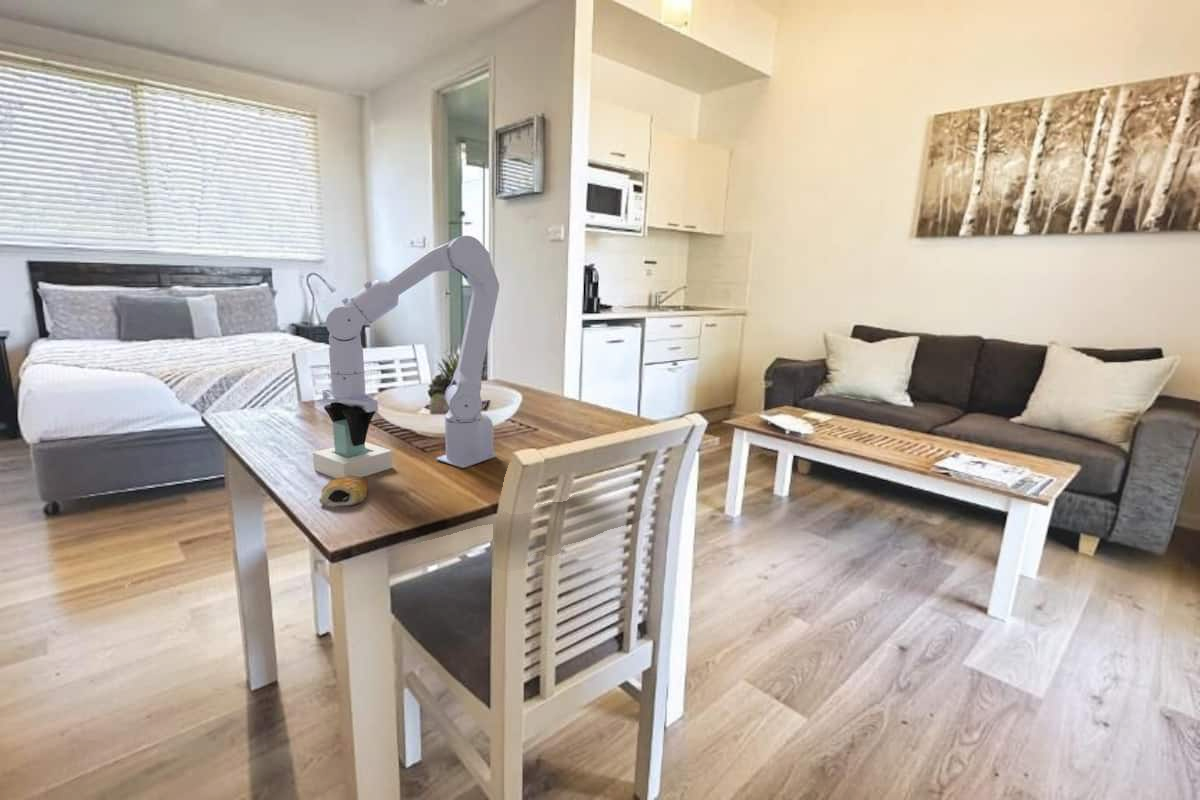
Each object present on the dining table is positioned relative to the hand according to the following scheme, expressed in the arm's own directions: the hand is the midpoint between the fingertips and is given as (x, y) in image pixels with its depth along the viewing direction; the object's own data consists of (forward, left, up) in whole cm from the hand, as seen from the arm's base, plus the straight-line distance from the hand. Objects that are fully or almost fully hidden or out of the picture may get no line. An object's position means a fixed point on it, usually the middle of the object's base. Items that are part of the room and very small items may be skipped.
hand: (352, 442), depth 108 cm
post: (0, 0, -4) cm, 4 cm away
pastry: (+9, +11, -6) cm, 15 cm away
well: (0, 0, -5) cm, 5 cm away
